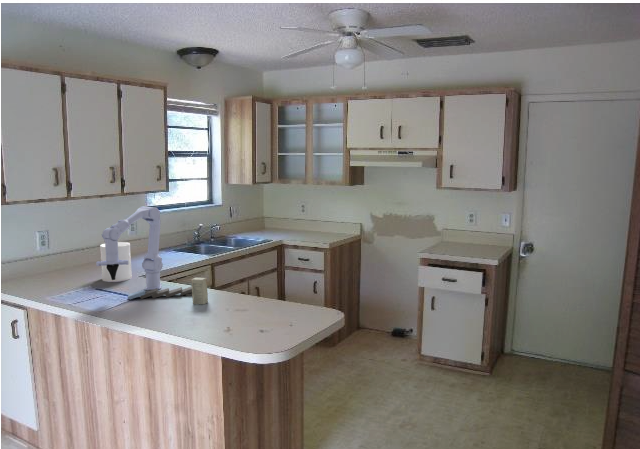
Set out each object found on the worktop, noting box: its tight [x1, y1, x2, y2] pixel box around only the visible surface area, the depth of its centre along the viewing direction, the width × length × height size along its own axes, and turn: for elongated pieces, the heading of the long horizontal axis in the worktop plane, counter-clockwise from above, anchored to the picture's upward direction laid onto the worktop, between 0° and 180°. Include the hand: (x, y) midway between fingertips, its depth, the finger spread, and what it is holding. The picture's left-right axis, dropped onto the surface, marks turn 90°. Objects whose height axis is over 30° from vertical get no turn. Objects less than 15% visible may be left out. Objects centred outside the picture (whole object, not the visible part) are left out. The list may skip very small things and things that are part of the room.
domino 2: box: [139, 288, 159, 300], centre depth 251 cm, size 5×2×8 cm
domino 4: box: [165, 287, 183, 299], centre depth 253 cm, size 5×2×8 cm
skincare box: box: [191, 277, 209, 305], centre depth 241 cm, size 6×4×12 cm
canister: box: [99, 241, 133, 283], centre depth 287 cm, size 16×16×20 cm
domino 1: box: [127, 288, 147, 300], centre depth 249 cm, size 5×2×8 cm
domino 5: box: [180, 285, 192, 296], centre depth 256 cm, size 5×2×8 cm
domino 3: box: [152, 287, 170, 299], centre depth 252 cm, size 5×2×8 cm
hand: (113, 279), depth 245 cm, fingers closed
